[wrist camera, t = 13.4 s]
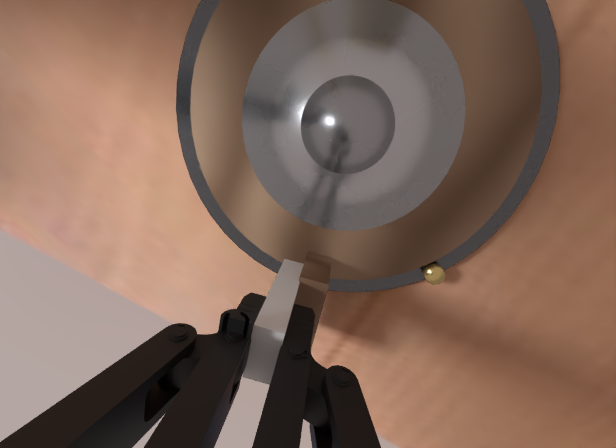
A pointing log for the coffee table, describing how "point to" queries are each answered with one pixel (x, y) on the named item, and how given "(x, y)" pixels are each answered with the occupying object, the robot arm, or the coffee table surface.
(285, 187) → the cover
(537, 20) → the susan base
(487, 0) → the platter
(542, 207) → the coffee table surface
